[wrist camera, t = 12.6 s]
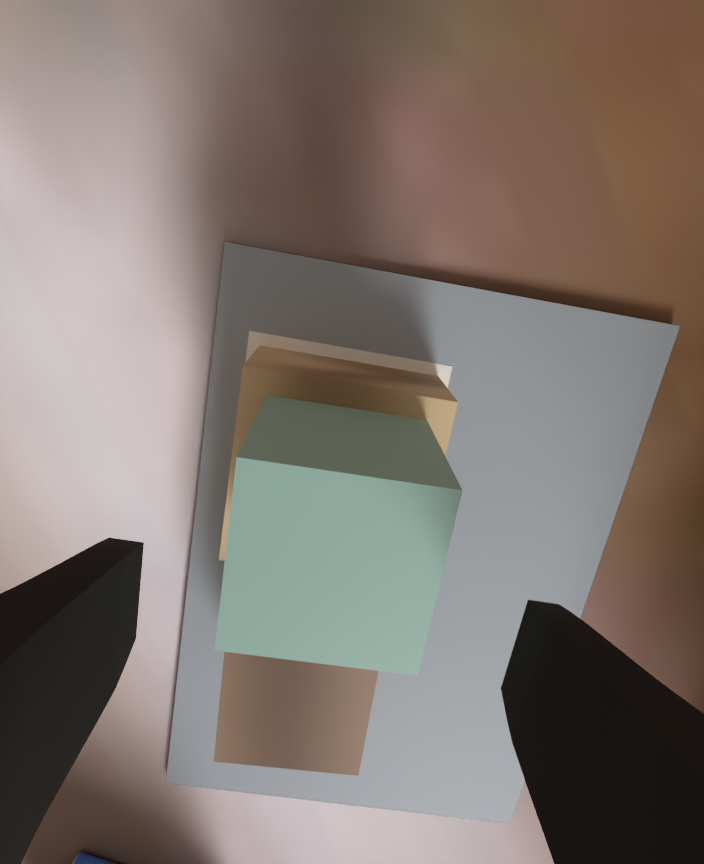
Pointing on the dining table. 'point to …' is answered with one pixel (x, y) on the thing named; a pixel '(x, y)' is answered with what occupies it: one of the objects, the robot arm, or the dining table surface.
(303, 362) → the oak base block
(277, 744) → the walnut block
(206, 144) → the dining table surface
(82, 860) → the medicine box
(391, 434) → the sage-green block
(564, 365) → the blueprint board
